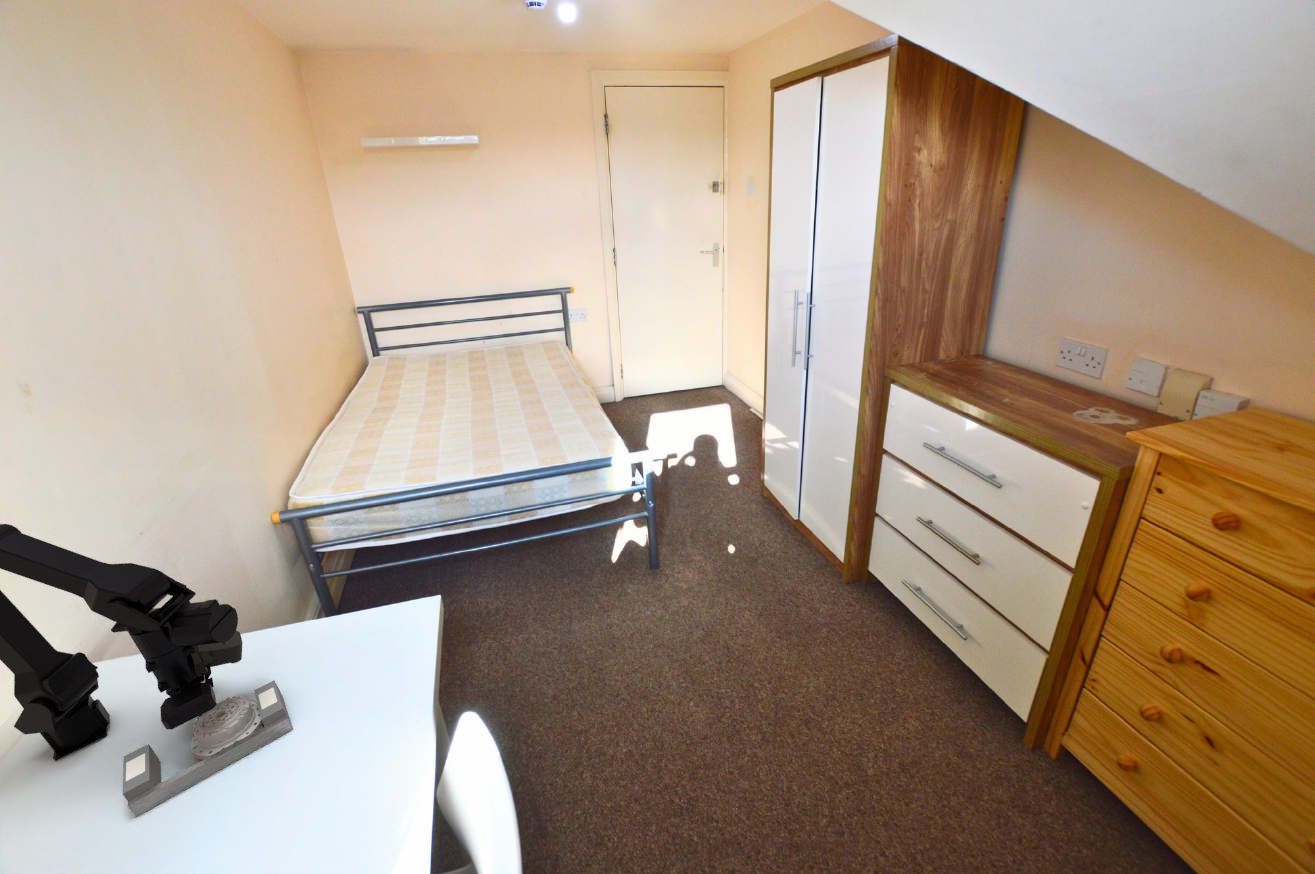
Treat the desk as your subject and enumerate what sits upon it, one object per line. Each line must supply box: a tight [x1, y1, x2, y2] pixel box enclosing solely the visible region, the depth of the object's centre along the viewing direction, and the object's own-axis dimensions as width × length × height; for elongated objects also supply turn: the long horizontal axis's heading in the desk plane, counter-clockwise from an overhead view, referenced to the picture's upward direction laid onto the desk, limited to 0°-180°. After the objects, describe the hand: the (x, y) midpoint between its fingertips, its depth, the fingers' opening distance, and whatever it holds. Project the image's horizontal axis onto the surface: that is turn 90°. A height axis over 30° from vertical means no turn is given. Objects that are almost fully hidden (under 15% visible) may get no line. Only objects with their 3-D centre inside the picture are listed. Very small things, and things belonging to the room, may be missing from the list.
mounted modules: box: [122, 679, 292, 802], centre depth 89 cm, size 20×8×4 cm, turn 130°
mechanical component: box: [190, 695, 265, 761], centre depth 92 cm, size 10×4×10 cm
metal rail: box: [127, 715, 294, 818], centre depth 86 cm, size 20×1×2 cm, turn 131°
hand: (207, 715), depth 95 cm, fingers closed
